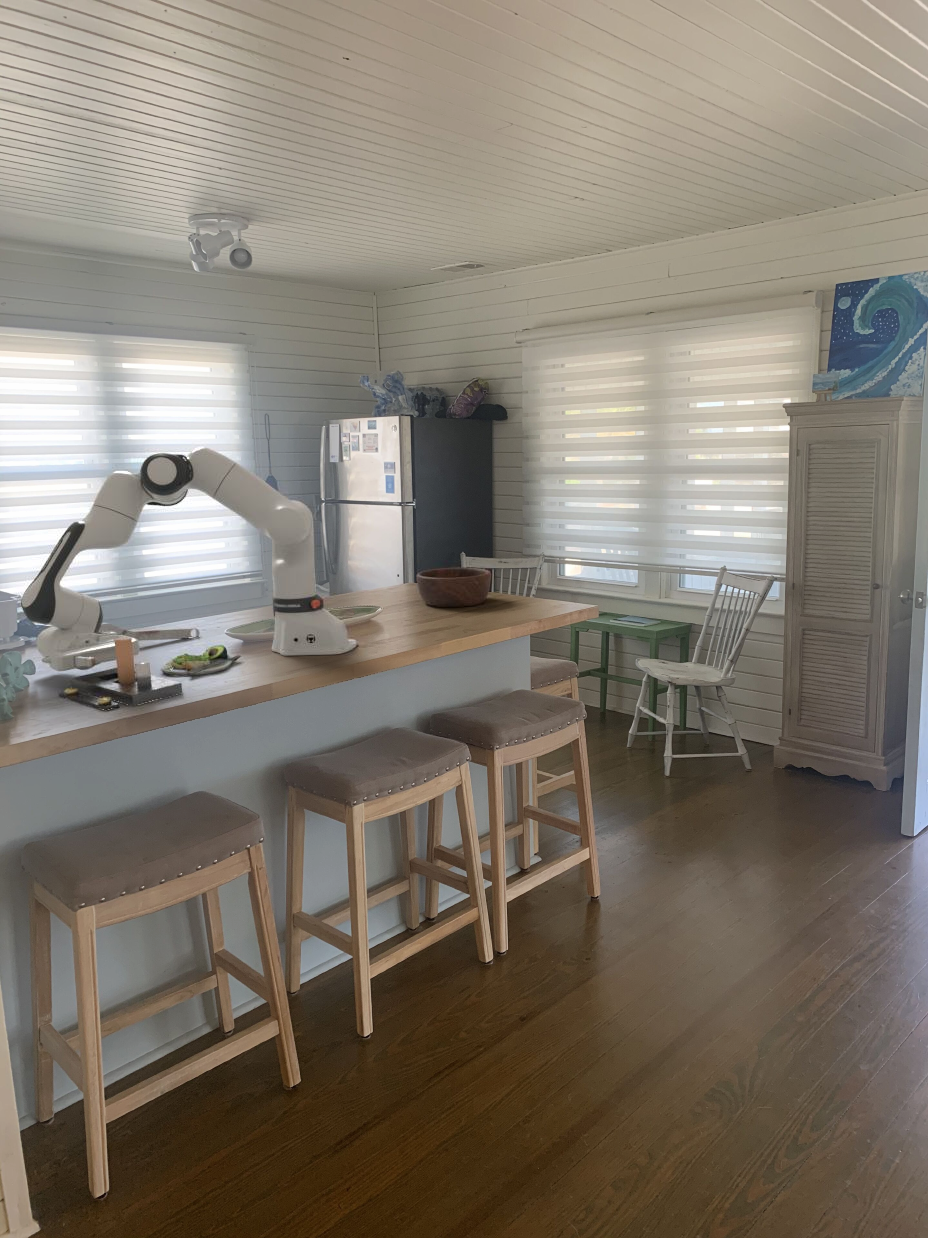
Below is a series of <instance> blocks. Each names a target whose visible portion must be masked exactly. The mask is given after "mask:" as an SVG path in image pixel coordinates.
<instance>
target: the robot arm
mask: <svg viewBox="0 0 928 1238" xmlns="http://www.w3.org/2000/svg"><path fill="white" fill-rule="evenodd" d="M139 470H140V471H139V473H133V472H129V471H127V470H126V471H125V470H117V471H114V472H112V473H110V474H109V475H108V476H107V478H106V479H105V481H104V482H103V484H102V486H101V488H100V489H99V492H98V493H97V495H96V497H95V499H94V501H93V504H92V506H91V509H90V511H89V512H88V513H87V515H86V516H85V517H84V518H82V519H81V520H80V521H74V522H73V523H71V524H70V525H69V527H67V529H66V530H65V531H64V533H63V534H62V535H61V537H60V539H58V541H57V543H56V545H55V546H54V548H53V550H52V552H51V553H50V555H49V557H48V558H47V560H46V561H45V563H44V564H43V565H42V567H41V569H40V571H39V572H38V574H37V575H36V577H35V578H34V579H33V581H32V582H31V583H30V584H29V585H28V586H27V588H26V589H25V591H24V593H23V595H22V597H21V601H20V605H21V610H22V611H23V613H24V615H25V617H26V618H27V619H28V620H29V621H31V622H34V623H37V624H44V625H49V627H48V628H46V629H45V628H44V629H43V630H42V631H41V632H40V633H39V634H38V636H37V638H36V641H35V642H36V648H37V650H38V652H39V654H40V655H41V656H42V657H43V658H41V662H42V663H44V664H49V667H50V669H52V670H54V671H57V672H66V671H71V670H75V669H76V670H80V671H86V670H87V671H88V670H90V669H92V668H94V667H96V666H98V665H100V664H102V663H107V662H110V661H117V660H116V651H115V642H114V640H116V639H121V638H131V639H132V648H133V657H135V656H138V655H139V654H140V641H138V640H137V639H135V638H132V637H128V636H124V635H117V634H116V632H105V631H102V632H99V633H98V631H99V629H100V627H101V624H102V623H103V619H104V614H103V609H102V605H101V603H100V601H99V600H98V599H97V598H96V597H92V596H90V595H87V594H84V593H82V592H79V591H75V590H74V589H73V590H72V589H69V588H66V587H64V586H61V581H62V580H63V578H64V577H65V574H66V573H67V571H68V569H69V567H70V566H71V564H72V563H73V561H74V559H75V558H76V557H77V555H78V554H80V553H81V552H83V551H87V550H96V549H97V550H98V549H99V550H100V549H101V550H103V549H104V550H105V549H106V550H108V549H115V548H116V549H117V548H119V547H122V546H123V545H125V544H126V543H128V542H129V541H130V539H131V537H132V536H133V534H134V531H135V530H136V527H137V524H138V521H139V519H140V516H141V514H142V511H143V509H144V507H145V506H146V505H147V506H159V507H172V506H176V505H178V504H180V503H181V502H182V501H183V500H184V499H185V498H186V497H187V494H188V491H189V490H197V491H200V492H202V493H204V494H205V495H207V496H208V497H210V498H212V499H213V500H214V501H216V502H217V503H219V504H221V505H222V506H223V507H225V508H227V509H228V510H230V511H231V512H233V513H235V514H237V516H240V517H241V518H242V519H244V520H245V521H246V522H247V523H248V524H250V525H251V526H252V527H254V528H255V529H256V530H257V531H258V532H260V533H262V534H263V535H264V536H266V537H268V539H270V540H272V542H271V543H272V544H271V547H272V553H271V554H272V557H271V558H272V563H271V570H272V571H271V572H272V587H273V597H272V611H273V617H274V631H273V641H272V646H271V651H273V652H275V653H278V654H279V655H282V656H310V655H311V656H314V655H315V656H317V655H319V656H321V655H323V656H324V655H339V654H344V653H346V652H347V653H348V652H349V651H351V650H353V649H355V648H356V646H358V645H357V640H355V639H352V638H351V639H350V638H349V635H348V631H347V626H346V625H345V622H343V621H342V620H341V619H339V618H338V617H337V616H335V615H333V614H332V613H331V612H330V611H328V610H327V609H325V608H324V607H325V606H324V602H326V596H324V597H321V596H320V595H318V594H317V588H316V585H317V584H316V571H315V569H316V568H315V531H314V517H313V513H312V511H311V510H310V509H309V507H308V506H307V505H306V504H304V503H303V502H302V501H299V500H294V499H293V500H292V499H291V500H290V499H289V498H288V497H286V496H285V495H283V494H282V493H280V492H279V491H278V490H277V489H275V488H274V487H273V486H271V485H270V484H268V483H267V482H266V481H265V480H263V479H262V478H260V477H259V476H258V475H256V474H254V473H253V472H251V471H250V470H248V469H246V467H244V466H242V465H240V464H239V463H237V462H236V461H234V460H233V459H231V458H230V457H227V456H225V455H224V454H222V453H219V452H218V451H216V450H213V449H211V448H209V447H205V446H200V447H196V448H194V449H193V450H192V451H190V452H189V453H188V455H187V456H186V455H184V454H179V453H168V452H156V453H153V454H150V455H149V456H148V457H146V458H145V459H144V461H143V462H142V465H141V466H140V469H139Z"/></svg>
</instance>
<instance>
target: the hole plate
mask: <svg viewBox="0 0 928 1238" xmlns="http://www.w3.org/2000/svg"><path fill="white" fill-rule="evenodd" d="M150 663H151V662H149V661H139V662H136V663H134V667H135V677H136V682H134V683H130V684H126V685H121V684H119V679H118V669H117V667H113V668H110V669H105V670H100V671H96V672H92V673H88V674H87V673H86V674H83V675H78V676H74V677H71V678H70V684H71V685H70V686H71V687H68V688H66V689H64V691H61V692H58V697H59V696H60V698H63V699H66V698H67V699H66V700H69V699H70V701H72V700H73V702H76V703H79V702H80V703H79V704H82V703H83V705H85V704H86V705H85V706H88V705H90V706H89V707H92V706H93V707H92V708H95V707H96V708H95V709H98V708H101V709H104V710H103V711H105V710H108V709H111V708H116V709H118V708H117V707H119V708H120V703H119V702H122V703H125V704H124V705H126V704H128V705H127V706H129V705H132V706H134V707H136V706H135V705H138V704H142V703H145V702H149V701H152V700H156V699H160V698H164V699H166V698H165V697H168V698H170V697H169V696H172V697H174V696H173V695H175V696H177V695H176V694H179V695H182V694H183V685H182V682H179V681H176V680H172V679H167V678H163V677H160V676H155V675H153V674H152V673H151V664H150ZM78 690H79V691H78ZM81 691H83V692H81ZM85 692H86V693H85ZM88 693H90V694H88ZM181 693H182V694H181ZM92 694H93V695H92ZM95 695H97V696H95ZM98 696H101V697H98ZM102 697H103V698H102ZM112 700H115V701H119V702H115V701H112ZM160 700H161V699H160ZM122 703H121V704H122ZM149 703H150V702H149ZM145 704H146V703H145ZM142 705H143V704H142ZM132 706H131V707H132ZM138 706H139V705H138ZM101 709H100V710H101ZM108 711H109V710H108Z"/></svg>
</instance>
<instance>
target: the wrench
mask: <svg viewBox="0 0 928 1238" xmlns="http://www.w3.org/2000/svg"><path fill="white" fill-rule="evenodd" d="M193 630H195V635H194V636H198V637H199V636H200V630H199V629H198V628H195V627H182V628H181V627H180V628H179V627H178V628H163V629H162V628H161V629H159V628H158V629H140V630H129V629H125V628H122V627H119V626H116V625H114V624H112V623H109V622H102V624H101V627H100V629H99V631H98V633H99V632H116V634H117V635H124V636H128V637H132V638H135V639H137V640H138V642H140V641H141V642H142V641H163V640H164V641H165V640H166V641H167V640H183V639H182V638H189V637H193V636H192V631H193Z"/></svg>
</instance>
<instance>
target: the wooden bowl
mask: <svg viewBox="0 0 928 1238" xmlns="http://www.w3.org/2000/svg"><path fill="white" fill-rule="evenodd" d="M491 580H492V572H491V571H490V570H489V569H485V568H479V567H443V568H433V569H428V570H423V571H422V570H421V571H420V572H418V573H417V574H416V582H417V587H418V591H419V594H420V597H421V599H422V600H423V602H424V603H425V604H426V605H427V606H430V607H434V608H435V607H436V608H462V607H473V606H477V605H480V604H481V605H482V604H483V603H484V602H485V600H486V599H487V597H488V594H489V591H490V589H491Z"/></svg>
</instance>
